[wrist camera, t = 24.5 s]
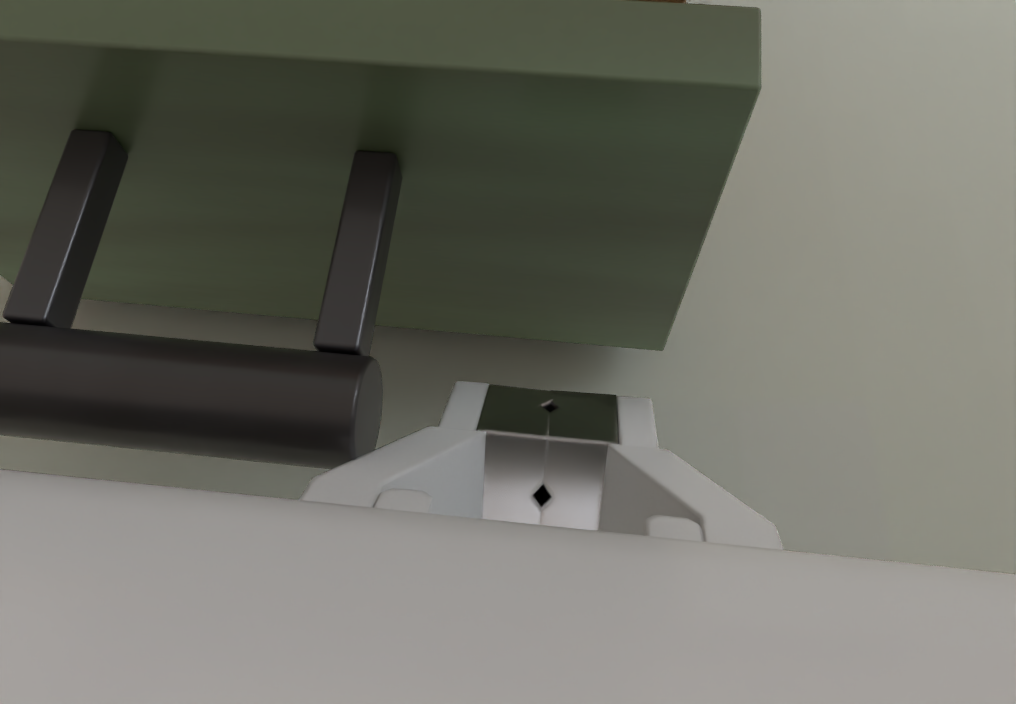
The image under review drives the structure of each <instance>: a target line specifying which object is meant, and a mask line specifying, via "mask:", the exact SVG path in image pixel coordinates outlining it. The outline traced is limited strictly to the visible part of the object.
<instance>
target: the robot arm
mask: <svg viewBox="0 0 1016 704" xmlns="http://www.w3.org/2000/svg"><path fill="white" fill-rule="evenodd" d="M0 704H1016V574H1011V573H1001V572H991V571H982V570H972V569H962V568H953V567H943V566H933V565H924V564H914V563H904V562H895V561H885V560H875V559H866V558H856V557H846V556H837V555H827V554H817V553H808V552H798V551H788V550H784V548H783V545H782V542H781V540H780V537H779V534H778V531H777V528H776V525H774V524H773V523H771V522H770V521H769V520H767V519H766V518H764V517H763V516H762V515H760V514H759V513H757V512H756V511H755V510H753V509H752V508H750V507H749V506H748V505H746V504H745V503H743V502H742V501H740V500H739V499H738V498H736V497H735V496H733V495H732V494H731V493H729V492H728V491H726V490H725V489H724V488H722V487H721V486H719V485H718V484H716V483H715V482H714V481H712V480H711V479H709V478H708V477H707V476H705V475H704V474H702V473H701V472H700V471H698V470H697V469H695V468H694V467H692V466H691V465H690V464H688V463H687V462H685V461H684V460H683V459H681V458H680V457H678V456H677V455H676V454H674V453H673V452H671V451H670V450H668V449H662V448H659V446H658V439H657V432H656V425H655V418H654V411H653V404H652V400H651V399H650V398H644V397H626V396H617V397H616V395H610V394H595V393H581V392H566V391H552V390H551V391H547V390H538V389H528V388H519V387H510V386H501V385H489V384H488V383H479V382H462V381H456V382H455V383H454V385H453V388H452V390H451V393H450V395H449V398H448V401H447V403H446V406H445V408H444V411H443V413H442V416H441V419H440V421H439V424H438V426H437V427H432V426H428V427H425V428H423V429H421V430H419V431H416V432H414V433H412V434H410V435H407V436H405V437H403V438H401V439H398V440H396V441H394V442H392V443H389V444H387V445H385V446H383V447H380V448H378V449H376V450H374V451H371V452H369V453H367V454H365V455H362V456H360V457H358V458H356V459H355V460H351V461H349V462H346V463H344V464H342V465H340V466H337V467H335V468H333V469H331V470H328V471H326V472H324V473H322V474H319V475H317V476H315V477H313V478H311V480H310V482H309V483H308V485H307V487H306V488H305V490H304V491H303V493H302V495H301V496H300V498H299V499H298V500H295V499H286V498H276V497H266V496H257V495H247V494H237V493H228V492H218V491H208V490H199V489H189V488H179V487H170V486H160V485H150V484H141V483H131V482H121V481H112V480H102V479H92V478H82V477H73V476H63V475H53V474H44V473H34V472H24V471H15V470H5V469H0Z"/></svg>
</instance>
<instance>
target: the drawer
mask: <svg viewBox="0 0 1016 704" xmlns="http://www.w3.org/2000/svg"><path fill="white" fill-rule="evenodd" d="M760 90H761V10H760V9H759V8H756V7H739V6H722V5H705V4H688V3H686V0H0V275H1V276H2V277H3V278H5V279H6V280H7V281H9V282H10V283H11V284H13V287H12V290H11V292H10V295H9V298H8V300H7V303H6V306H5V308H4V311H3V317H4V318H5V319H6V320H8V321H9V322H10V323H5V322H0V435H4V436H14V437H23V438H33V439H43V440H52V441H62V442H72V443H82V444H91V445H101V446H111V447H120V448H130V449H140V450H150V451H159V452H169V453H179V454H188V455H198V456H208V457H218V458H227V459H237V460H247V461H256V462H266V463H276V464H286V465H295V466H305V467H315V468H324V469H333V468H335V467H337V466H340V465H342V464H344V463H346V462H349V461H351V460H355V459H356V458H358V457H360V456H362V455H365V454H367V453H369V452H371V451H374V449H375V446H376V442H377V438H378V433H379V428H380V421H381V412H382V394H383V390H382V376H381V371H380V367H379V364H378V361H377V360H376V359H375V358H373V357H371V356H369V354H370V348H371V343H372V338H373V332H374V327H375V325H380V326H391V327H402V328H413V329H425V330H436V331H447V332H458V333H469V334H480V335H492V336H503V337H514V338H525V339H536V340H547V341H559V342H570V343H581V344H592V345H603V346H614V347H626V348H637V349H648V350H659V351H662V350H663V349H664V347H665V344H666V342H667V339H668V336H669V334H670V331H671V328H672V326H673V323H674V320H675V318H676V315H677V312H678V309H679V307H680V304H681V301H682V299H683V296H684V293H685V291H686V288H687V285H688V283H689V280H690V277H691V275H692V272H693V269H694V267H695V264H696V261H697V259H698V256H699V253H700V251H701V248H702V245H703V243H704V240H705V237H706V235H707V232H708V229H709V227H710V224H711V221H712V218H713V216H714V213H715V210H716V208H717V205H718V202H719V200H720V197H721V194H722V192H723V189H724V186H725V184H726V181H727V178H728V176H729V173H730V170H731V168H732V165H733V162H734V160H735V157H736V154H737V152H738V149H739V146H740V144H741V141H742V138H743V136H744V133H745V130H746V127H747V125H748V122H749V119H750V117H751V114H752V111H753V109H754V106H755V103H756V101H757V98H758V95H759V93H760ZM81 299H89V300H101V301H112V302H123V303H134V304H145V305H156V306H168V307H179V308H190V309H201V310H212V311H223V312H235V313H246V314H257V315H268V316H279V317H290V318H302V319H313V320H318V323H317V328H316V332H315V337H314V341H313V343H314V347H315V349H316V350H317V351H308V350H297V349H286V348H275V347H264V346H253V345H243V344H232V343H221V342H210V341H199V340H188V339H178V338H167V337H156V336H145V335H134V334H124V333H113V332H102V331H91V330H80V329H71V327H72V324H73V321H74V318H75V315H76V312H77V309H78V306H79V303H80V300H81Z"/></svg>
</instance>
